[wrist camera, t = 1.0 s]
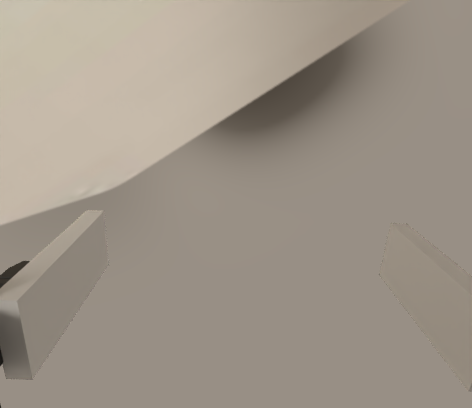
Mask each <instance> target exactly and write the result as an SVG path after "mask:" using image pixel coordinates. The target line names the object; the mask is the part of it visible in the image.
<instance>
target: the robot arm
mask: <svg viewBox="0 0 472 408" xmlns="http://www.w3.org/2000/svg"><path fill="white" fill-rule="evenodd" d="M108 265H109V261H108V250H107V238H106V226H105V214H104V211H95V210H87V211H86V212H84V213H83V214H82V215H81V216H80V217H79V218H78V219H77V220H76V221H75V222H74V223H72V224H71V225H70V226H69V227H68V228H67V229H66V230H64V231H63V232H62V233H61V234H60V235H59V236H58V237H57V238H56V239H55V240H53V241H52V242H51V243H50V244H49V245H48V246H47V247H46V248H45V249H43V250H42V251H41V252H40V253H39V254H38V255H37V256H36V257H35V258H34V259H32V260H31V261H22V262H21V263H18V264H16V265H14V266H12V267H10V268H8V269H7V270H6V271H5V272H4V273H3V274H2V275H0V366H1V365H2V363H3V368H4V372H5V376H6V379H26V380H33V378H34V377H35V375H36V374H37V372H38V371H39V369H40V368H41V366H42V365H43V363H44V362H45V360H46V359H47V357H48V356H49V354H50V353H51V351H52V350H53V348H54V347H55V345H56V344H57V342H58V341H59V339H60V337H61V336H62V335H63V333H64V331H65V330H66V328H67V327H68V325H69V324H70V322H71V321H72V320H73V318H74V317H75V315H76V313H77V312H78V310H79V309H80V307H81V306H82V304H83V303H84V301H85V300H86V298H87V297H88V295H89V294H90V292H91V291H92V289H93V288H94V286H95V285H96V283H97V282H98V280H99V279H100V277H101V276H102V274H103V273H104V271H105V270H106V268H107V267H108ZM379 275H380V277H381V278H382V279H383V281H384V282H385V283H386V285H387V286H388V287H389V288H390V290H391V291H392V292H393V294H394V295H395V296H396V298H397V299H398V300H399V301H400V303H401V304H402V305H403V307H404V308H405V309H406V311H407V312H408V313H409V315H410V316H411V317H412V318H413V320H414V321H415V322H416V324H417V325H418V326H419V328H420V329H421V330H422V332H423V333H424V334H425V335H426V337H427V338H428V339H429V341H430V342H431V343H432V345H433V346H434V347H435V349H436V350H437V351H438V352H439V354H440V355H441V356H442V358H443V359H444V360H445V362H446V363H447V364H448V365H449V367H450V368H451V369H452V371H453V372H454V373H455V375H456V376H457V377H458V378H459V380H460V381H461V382H462V384H463V385H464V386H465V388H466V389H467V390H468V391H472V276H471V275H469V274H468V273H467V272H466V271H464V270H463V269H462V268H461V267H459V266H458V265H457V264H456V263H455V262H453V261H452V260H451V259H450V258H448V257H447V256H446V255H445V254H443V253H442V252H441V251H440V250H438V249H437V248H436V247H435V246H434V245H432V244H431V243H430V242H429V241H427V240H426V239H425V238H424V237H422V236H421V235H420V234H419V233H418V232H416V231H415V230H414V229H413V228H411V227H410V226H409V225H408V224H397V223H391V224H390V229H389V233H388V238H387V242H386V247H385V251H384V256H383V260H382V265H381V269H380V273H379ZM0 408H1V405H0Z"/></svg>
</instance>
